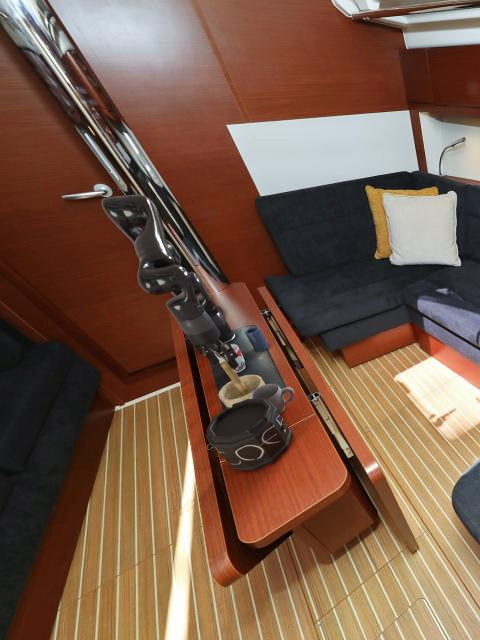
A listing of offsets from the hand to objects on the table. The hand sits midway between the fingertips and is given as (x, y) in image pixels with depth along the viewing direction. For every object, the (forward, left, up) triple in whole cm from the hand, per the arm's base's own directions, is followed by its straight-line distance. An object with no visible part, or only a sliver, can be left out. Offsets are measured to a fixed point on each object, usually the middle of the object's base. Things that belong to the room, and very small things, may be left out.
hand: (225, 365), depth 112 cm
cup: (-24, +1, -18) cm, 30 cm away
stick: (0, 0, -17) cm, 17 cm away
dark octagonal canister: (+28, -2, -18) cm, 33 cm away
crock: (-33, +12, -17) cm, 39 cm away
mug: (+13, +7, -18) cm, 23 cm away
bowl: (0, 0, -17) cm, 17 cm away
